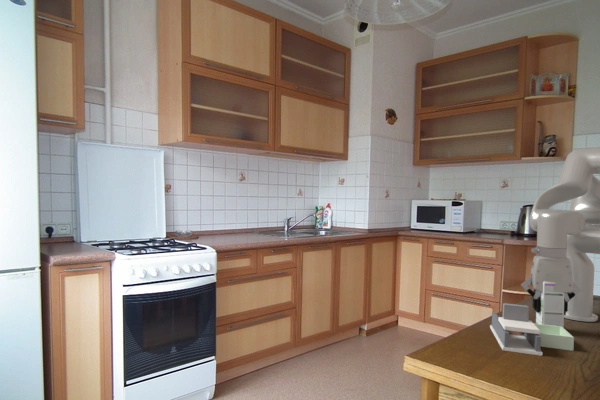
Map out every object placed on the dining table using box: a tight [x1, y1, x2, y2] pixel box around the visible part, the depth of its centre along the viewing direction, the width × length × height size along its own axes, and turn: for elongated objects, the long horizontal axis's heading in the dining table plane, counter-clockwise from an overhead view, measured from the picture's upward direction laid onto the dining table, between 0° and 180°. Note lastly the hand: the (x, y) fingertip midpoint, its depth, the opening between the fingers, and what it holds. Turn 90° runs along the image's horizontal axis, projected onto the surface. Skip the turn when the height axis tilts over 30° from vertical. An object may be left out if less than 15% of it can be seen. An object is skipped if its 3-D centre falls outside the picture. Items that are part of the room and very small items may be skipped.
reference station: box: [489, 312, 543, 356], centre depth 106 cm, size 18×9×5 cm, turn 163°
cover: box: [498, 302, 540, 334], centre depth 102 cm, size 8×8×5 cm
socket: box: [533, 322, 575, 352], centre depth 105 cm, size 9×9×4 cm
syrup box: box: [535, 282, 565, 329], centre depth 114 cm, size 6×6×14 cm
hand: (549, 311), depth 114 cm, fingers closed on syrup box, 6 cm apart
